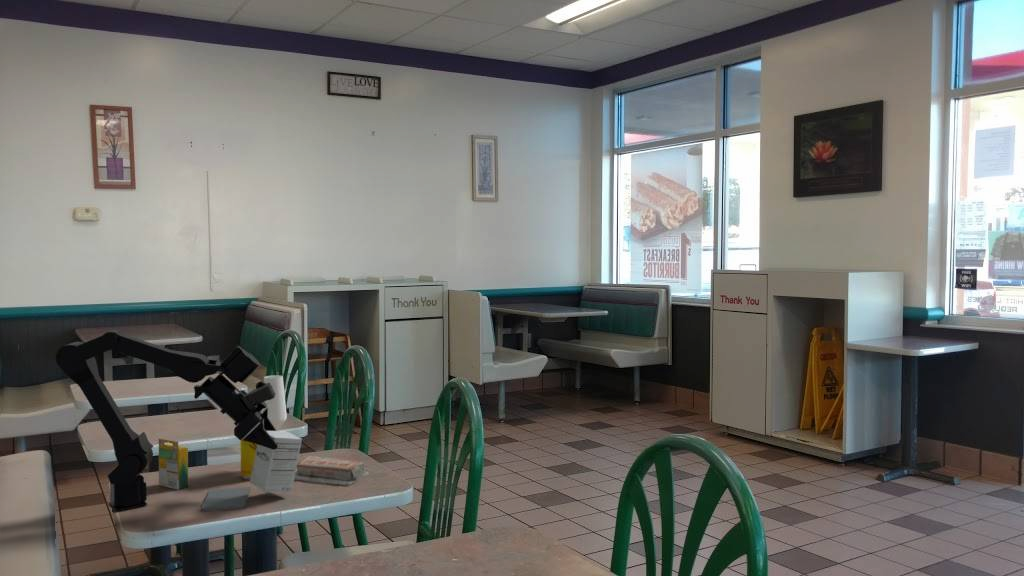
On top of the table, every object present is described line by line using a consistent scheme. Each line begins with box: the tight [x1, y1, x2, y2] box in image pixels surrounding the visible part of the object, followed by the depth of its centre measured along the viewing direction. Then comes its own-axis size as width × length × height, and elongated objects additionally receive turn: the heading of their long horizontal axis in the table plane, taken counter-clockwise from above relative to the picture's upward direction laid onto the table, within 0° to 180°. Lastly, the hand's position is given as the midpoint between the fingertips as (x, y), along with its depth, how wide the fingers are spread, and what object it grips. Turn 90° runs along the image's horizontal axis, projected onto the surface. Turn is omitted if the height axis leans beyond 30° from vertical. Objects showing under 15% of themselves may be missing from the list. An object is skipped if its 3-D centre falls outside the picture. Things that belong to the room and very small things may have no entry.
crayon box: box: [158, 438, 189, 491], centre depth 192 cm, size 7×3×12 cm, turn 61°
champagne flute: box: [262, 374, 288, 431], centre depth 209 cm, size 7×7×24 cm
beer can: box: [240, 439, 258, 480], centre depth 200 cm, size 6×6×15 cm
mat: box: [200, 486, 251, 512], centre depth 182 cm, size 9×14×1 cm, turn 13°
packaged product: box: [294, 455, 369, 487], centre depth 201 cm, size 18×5×10 cm
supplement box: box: [249, 430, 303, 493], centre depth 184 cm, size 7×7×13 cm
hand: (277, 443), depth 184 cm, fingers closed on supplement box, 9 cm apart
